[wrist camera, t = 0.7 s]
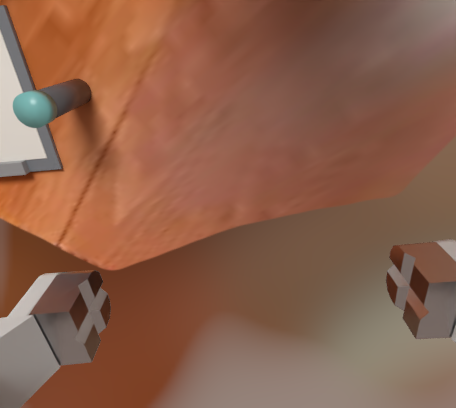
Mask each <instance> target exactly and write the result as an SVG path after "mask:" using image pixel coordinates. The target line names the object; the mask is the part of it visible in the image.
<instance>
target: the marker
mask: <svg viewBox="0 0 456 408" xmlns="http://www.w3.org/2000/svg"><path fill="white" fill-rule="evenodd" d="M90 98H91V90H90V87H89V86H88V84H87V83H86V82H84V81H83V80H80V79H73V80H70V81H66V82H63V83H60V84H56V85H53V86H50V87H47V88H43V89H40V90H31V91H28V92H25V93H21V94H19V95H17V96H16V97H15V99H14V101H13V111H14V114H15V116H16V117H17V119H18V120H19V121H20V122H21V123H23V124H24V125H26V126H28V127H31V128H40V127H42V126H44V125H46V124H48V123H50V122H52V121H53V120H54V119H55V118H57V117H59V116H61V115H63V114H65V113H67V112H69V111H71V110H73V109H75V108H77V107H79V106H81V105H83V104H85V103H87V102H88V101H89V100H90Z"/></svg>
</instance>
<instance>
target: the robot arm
mask: <svg viewBox="0 0 456 408" xmlns="http://www.w3.org/2000/svg"><path fill="white" fill-rule="evenodd" d="M389 258H390V259H391V261H392V262H393V265H392V267H391V268H390V269H389V270H388V271H387V277H386V283H387V290H388V293H389V295H390V298H391V300H392V301H393V303H394V305H395V306H397V307H399V308H400V309H402V310H404V314H403V319H404V321H405V322H406V324H407V326H408V327H409V329H410V331H411V332H412V334H413V335H414V337H415V338H416V339H427V338H451V337H452V338H451V339H452V340H453V341H454V342H456V241H455V240H452V239H449V240H440V241H432V242H428V243H416V244H405V245H394V246H393V247H392V249H391V251H390V257H389ZM102 283H103V280H102V278H101V275H100V273H99V272H98V271H95V270H93V271H77V272H62V273H48V274H43V275H41V276H39V277H38V278H37V280H36V281H35V282H34V284H33V285H32V286H31V288H30V289H29V290H28V291H27V293H26V294H25V295H24V296H23V298H22V299H21V300H20V301H19V303H18V304H17V305H16V307H15V308H14V309H13V310H12V312H11V313H10V314H9V316H8V317H6V318H5V317H4V318H0V408H20V407H21V406H22V405H23V404H24V403H25V402H26V401H27V400H28V399H29V398H30V397H31V396H32V395H33V394H34V393H35V392H36V391H37V390H38V389H39V388H40V387H41V386H42V385H43V384H44V383H45V382H46V381H47V380H48V379H49V378H50V377H51V376H52V375H53V374H54V373H55V372H56V371H57V370H58V369H59V368H60V365H68V364H78V363H88V362H92V360H93V358H94V356H95V353H96V351H97V348H98V346H99V344H100V341H101V340H100V337H99V335H98V334H99V333H100V332H101V331H102V330H103V329H105V328H106V326H107V324H108V321H109V319H110V310H111V306H110V299H109V297H108V294H107V293H106V292H105V291H103V290H102V289H101V288H100V287H101V285H102Z"/></svg>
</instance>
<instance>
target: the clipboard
mask: <svg viewBox="0 0 456 408" xmlns="http://www.w3.org/2000/svg"><path fill="white" fill-rule="evenodd" d="M31 90H36V89H35V86H34V83H33V80H32V77H31V75H30V72H29V69H28V66H27V63H26V60H25V57H24V55H23V52H22V49H21V46H20V43H19V40H18V37H17V35H16V32H15V29H14V26H13V23H12V20H11V17H10V15H9V12H8V9H7V6H5V5H2V6H0V177H5V176H17V175H26V174H28V173H29V172H33V171H45V170H56V169H62V168H63V166H62V163H61V160H60V158H59V155H58V152H57V149H56V146H55V143H54V140H53V138H52V135H51V132H50V129H49V126H48V124H46V125H44V126H42V127H40V128H31V127H28V126H26V125H24V124H23V123H21V122H20V121H19V120H18V119H17V117H16V116H15V114H14V111H13V101H14V99H15V97H16V96H17V95H19V94H21V93H25V92H28V91H31Z"/></svg>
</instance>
